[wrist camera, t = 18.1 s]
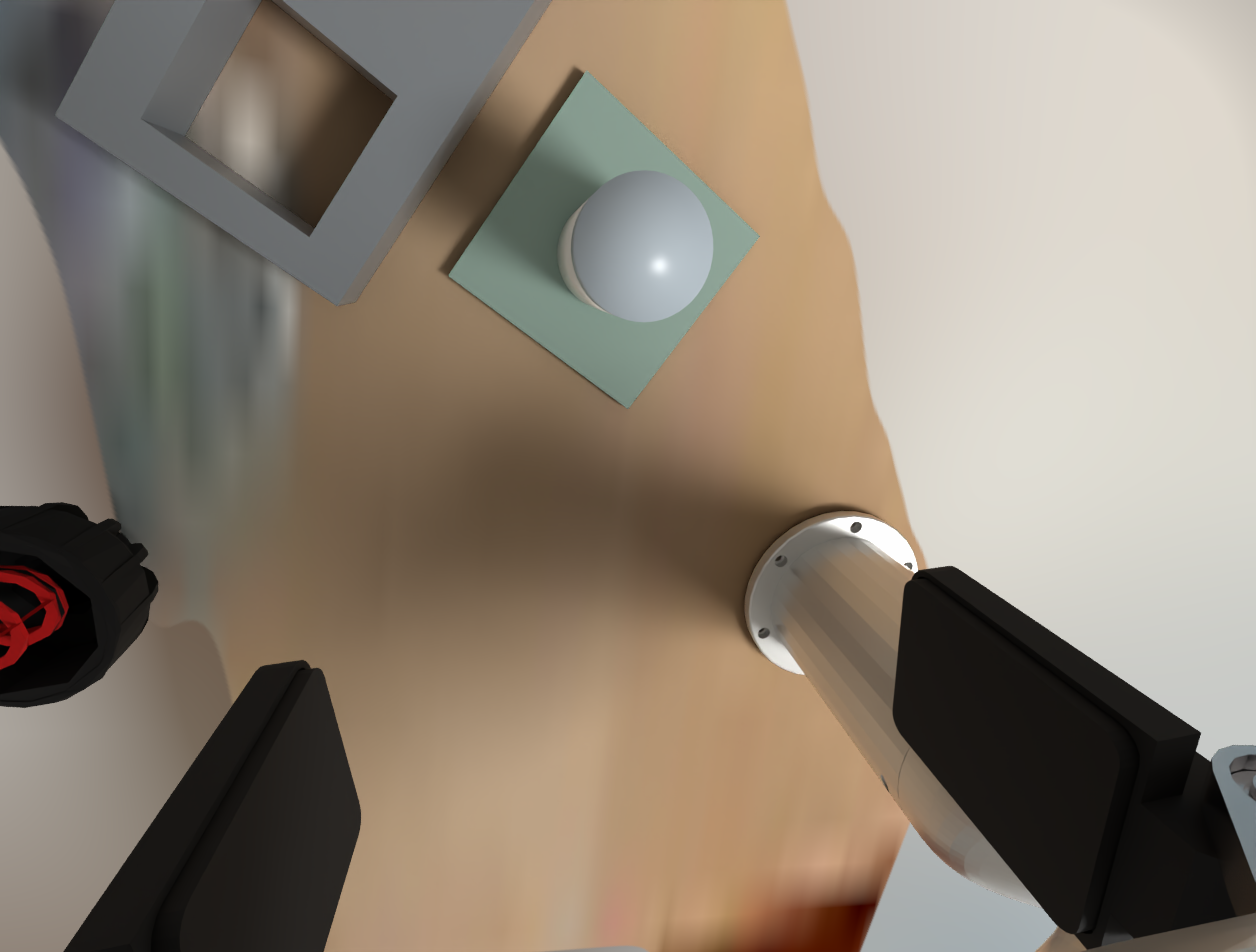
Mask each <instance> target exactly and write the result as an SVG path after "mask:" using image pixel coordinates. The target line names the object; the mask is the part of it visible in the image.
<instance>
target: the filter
mask: <svg viewBox="0 0 1256 952" xmlns="http://www.w3.org/2000/svg"><path fill="white" fill-rule="evenodd" d="M120 529H121V524H120V523H119V522H117V521H115V520H114V519H107V520H105V521H103V522H100V523H98V524H96V523H94V522H91V521H89V520H88V517H87V516H86V515H85V513H84V512H83V511H82V510H81V509H80V508H79V507H78V506H76V505H72V504H67V503H62V502H61V503H45V504H43V505H41V506H39V507H38V506H0V706H6V707H22V708H26V707H31V706H38V705H44V704H50V703H55V702H59V701H62V700H65V699H68V698H69V697H71V696H73V695H75V694H77V693H78V692H80V691H82V690H84V689H86V688H87V687H88V686H90V685H92V684H93V683H95V682H96V681H98V680H100V679H101V678H103V676H104V675H105V673H106V672H107V670H108V669H109V668H110V667H111V666H112V665H113V664H114V663H115V661H116V660H117V659H118V658H119V657H120V656H121V655H122V654H123V653H124V652H125V651H126V650H127V649H128V647H129V646H130V645H131V644H132V643H133V642H134V641H135V640H136V639H137V638H138V636H139V635H140V634H141V632H142V631H143V629H144V627H145V625H146V623H147V621H148V617H149V609H150V603H151V602H152V601H153V600H154V598H155V596H156V594H157V592H158V580H157V578H156V576H155V575H154V573H153V572H152V571H151V570H149V569H147V568H146V567H143V566H141V565H140V563H141V562H142V561H143V560H144V559H145V558H146V557H147V556H148V551H147V550H146V548H145V547H144V546H143V545H142V543H135V544H130V542H129V541H128V539H127V538H126V537H125V536H124V535H123V534H121V533H119V530H120Z"/></svg>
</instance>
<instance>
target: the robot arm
mask: <svg viewBox="0 0 1256 952" xmlns="http://www.w3.org/2000/svg"><path fill="white" fill-rule="evenodd" d="M745 618H746V623H747V628H748V630H749V632H750V634H751V636H752V639H753V640H754V642H755V643H756V645H757V646H758V648H759V649H760V651H761V652H762V653H763V654H764V655H765V656H766V657H767V658H768V659H769V660H770V661H771V662H772V663H773V664H775V665H777V666H778V667H780V668H782V669H784V670H786V671H789V672H792V673H795V674H800V675H805V676H806V677H807V678H808V680H809V681H810V682H811V684H812V685H813V687H814V688H815V689H816V691H817V692H818V694H819V695H820V696H821V698H822V699H823V701H824V702H825V703H826V705H827V706H828V708H829V709H830V710H831V712H832V713H833V715H834V716H835V717H836V719H837V720H838V722H839V723H840V724H841V726H842V727H843V729H844V730H845V731H846V733H847V734H848V736H849V737H850V738H851V740H852V741H853V743H854V744H855V745H856V747H857V748H858V750H859V751H860V752H861V754H862V755H863V757H864V758H865V759H866V761H867V762H868V764H869V765H870V766H871V768H872V769H873V771H874V772H875V773H876V775H877V776H878V778H879V779H880V780H881V782H882V783H883V785H884V786H885V787H886V789H887V790H888V792H889V793H890V794H891V796H892V797H893V799H894V800H895V801H896V803H897V804H898V806H899V807H900V808H901V810H902V811H903V813H904V814H905V815H906V817H907V818H908V820H909V821H910V822H911V824H912V825H913V827H914V828H915V829H916V831H917V832H918V833H919V835H920V836H921V838H922V839H923V840H924V841H925V842H926V844H927V845H928V846H929V847H930V848H931V850H932V851H933V852H934V853H935V854H936V855H937V856H938V857H939V858H940V859H941V860H942V861H943V862H945V863H946V864H947V865H948V866H949V867H951V868H952V869H953V870H955V871H956V872H957V873H959V874H960V875H962V876H963V877H965V878H966V879H968V880H970V881H972V882H974V883H976V884H978V885H980V886H982V887H984V888H986V889H987V890H990V891H992V892H995V893H998V894H1001V895H1003V896H1005V897H1008V898H1010V899H1014V900H1017V901H1020V902H1023V903H1026V904H1029V905H1032V906H1036V907H1039V908H1043V909H1044V911H1045V912H1046V913H1047V914H1048V915H1049V917H1050V918H1051V919H1052V920H1053V921H1054V922H1055V924H1056V925H1057V928H1056V930H1055V931H1054V933H1053V934H1052V935H1051V936H1050V937H1049V938H1048V939H1047V940H1046V941H1045V942H1044V943H1043V944H1042V945H1041V946H1040V947H1039V948H1038V949H1037V950H1036V951H1035V952H1256V746H1254V745H1232V746H1229V747H1226V748H1222V749H1219V750H1218V751H1217V752H1216V754H1215V755H1214V756H1213V757H1212V759H1211V762H1210V761H1209V760H1207V759H1206V758H1204V757H1203V756H1202V755H1200V754H1199V753H1197V752H1196V748H1197V745H1198V741H1199V738H1200V735H1201V733H1200V732H1199V731H1198V730H1196V729H1195V728H1193V727H1192V726H1190V725H1189V724H1187V723H1186V722H1184V721H1183V720H1181V719H1180V718H1178V717H1177V716H1175V715H1174V714H1172V713H1171V712H1170V711H1168V710H1167V709H1165V708H1164V707H1162V706H1160V705H1159V704H1158V703H1156V702H1155V701H1153V700H1152V699H1150V698H1149V697H1147V696H1146V695H1144V694H1143V693H1141V692H1140V691H1138V690H1137V689H1135V688H1134V687H1132V686H1131V685H1130V684H1128V683H1127V682H1125V681H1124V680H1122V679H1120V678H1119V677H1118V676H1116V675H1115V674H1113V673H1112V672H1110V671H1108V670H1107V669H1106V668H1104V667H1103V666H1101V665H1100V664H1098V663H1097V662H1095V661H1094V660H1092V659H1091V658H1090V657H1088V656H1086V655H1085V654H1084V653H1082V652H1081V651H1079V650H1078V649H1076V648H1074V647H1073V646H1072V645H1070V644H1069V643H1067V642H1066V641H1064V640H1063V639H1061V638H1060V637H1058V636H1057V635H1055V634H1054V633H1052V632H1051V631H1049V630H1048V629H1047V628H1045V627H1044V626H1042V625H1041V624H1039V623H1038V622H1036V621H1035V620H1033V619H1032V618H1030V617H1029V616H1027V615H1026V614H1024V613H1023V612H1021V611H1020V610H1018V609H1017V608H1015V607H1014V606H1012V605H1011V604H1009V603H1008V602H1006V601H1005V600H1004V599H1002V598H1000V597H999V596H998V595H996V594H995V593H993V592H992V591H990V590H989V589H987V588H986V587H984V586H983V585H981V584H980V583H978V582H977V581H975V580H974V579H972V578H971V577H969V576H968V575H966V574H965V573H964V572H962V571H961V570H959V569H957V568H955V567H953V566H945V567H938V568H931V569H925V570H918V566H917V562H916V559H915V556H914V552H913V550H912V549H911V547H910V545H909V544H908V542H907V540H906V539H905V538H904V537H903V536H902V535H901V534H900V533H899V532H898V531H897V530H896V529H895V528H893V527H892V526H890V525H889V524H888V523H886V522H885V521H883V520H881V519H879V518H877V517H875V516H872V515H870V514H865V513H861V512H857V511H837V512H831V513H825V514H821V515H818V516H816V517H813V518H810V519H807V520H805V521H803V522H802V523H800V524H798V525H796V526H794V527H793V528H791V529H789V530H788V531H787V532H786V533H784V534H783V535H782V536H781V537H779V538H778V539H777V540H776V541H775V542H774V543H773V544H772V545H771V546H770V547H769V548H768V550H767V551H766V552H765V553H764V554H763V556H762V557H761V559H760V560H759V562H758V564H757V565H756V567H755V569H754V571H753V573H752V576H751V578H750V580H749V583H748V587H747V591H746V596H745ZM360 824H361V809H360V804H359V800H358V796H357V793H356V789H355V785H354V782H353V778H352V775H351V771H350V767H349V764H348V760H347V757H346V753H345V749H344V746H343V742H342V738H341V735H340V731H339V728H338V724H337V720H336V717H335V713H334V709H333V706H332V702H331V699H330V695H329V691H328V688H327V684H326V680H325V677H324V674H323V672H322V670H321V669H319V668H313V669H311V668H310V666H309V664H308V663H307V662H306V661H304V660H299V661H292V662H286V663H279V664H272V665H265V666H262V667H260V668H259V669H258V670H257V671H256V672H255V673H254V675H253V676H252V678H251V679H250V681H249V682H248V684H247V685H246V686H245V688H244V689H243V691H242V692H241V694H240V695H239V697H238V698H237V700H236V701H235V702H234V704H233V705H232V707H231V708H230V710H229V711H228V713H227V714H226V716H225V717H224V718H223V720H222V721H221V723H220V724H219V726H218V727H217V729H216V730H215V732H214V733H213V735H212V736H211V737H210V739H209V740H208V742H207V743H206V745H205V746H204V748H203V749H202V751H201V752H200V754H199V755H198V756H197V758H196V760H195V761H194V762H193V764H192V765H191V767H190V768H189V770H188V771H187V772H186V774H185V775H184V777H183V778H182V780H181V781H180V783H179V784H178V786H177V787H176V788H175V790H174V791H173V793H172V794H171V796H170V797H169V799H168V800H167V802H166V803H165V804H164V806H163V808H162V809H161V810H160V812H159V813H158V815H157V816H156V818H155V819H154V821H153V822H152V823H151V825H150V826H149V828H148V829H147V831H146V832H145V834H144V835H143V837H142V838H141V840H140V841H139V842H138V844H137V845H136V847H135V848H134V850H133V851H132V853H131V854H130V855H129V857H128V858H127V860H126V861H125V863H124V864H123V866H122V867H121V869H120V870H119V872H118V873H117V875H116V876H115V877H114V879H113V880H112V882H111V883H110V885H109V886H108V888H107V889H106V891H105V892H104V894H103V895H102V896H101V898H100V899H99V901H98V902H97V904H96V905H95V906H94V908H93V909H92V911H91V912H90V914H89V915H88V917H87V918H86V920H85V921H84V923H83V924H82V925H81V927H80V928H79V930H78V932H77V933H76V934H75V936H74V937H73V939H72V940H71V942H70V943H69V944H68V946H67V947H66V949H65V950H64V952H324V948H325V945H326V942H327V938H328V935H329V932H330V928H331V925H332V922H333V918H334V915H335V912H336V908H337V905H338V902H339V898H340V895H341V892H342V888H343V885H344V882H345V878H346V875H347V872H348V868H349V865H350V862H351V858H352V855H353V852H354V848H355V845H356V842H357V838H358V835H359V831H360Z"/></svg>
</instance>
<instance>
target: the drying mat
mask: <svg viewBox="0 0 1256 952" xmlns="http://www.w3.org/2000/svg"><path fill="white" fill-rule="evenodd" d="M641 170H648V171H656V172H660V173H664V174H667V175H669V176H671V177H674V178H675V179H677V180H679V181H680V182H682V183H683V184H684V185H686V186H687V187H688V188H689V189H690V190H691V191H692V192H693V193H694V194H695V195H696V197H697V198H698V199H699V201H700V202H701V204H702V206H703V207H704V209H705V211H706V213H707V216H708V218H709V221H710V225H711V229H712V235H713V258H712V263H711V268H710V271H709V274H708V277H707V279H706V281H705V283H704V285H703V287H702V289H701V290H700V292H699V293H698V295H697V296H696V297H695V298H694V299H693V300H692V302H690V303H689V304H688V305H687V306H686V307H685V308H684V309H682V310H681V311H679V312H678V313H676V314H674V315H672V316H670V317H668V318H665V319H662V320H658V321H654V322H634V321H629V320H625V319H622V318H620V317H617V316H614V315H612V314H609V313H606V312H604V311H601V310H599V309H596V308H593V307H591V306H589V305H587V304H585V303H583V302H582V301H580V300H579V299H578V298H577V297H576V296H574V295H573V293H572V292H571V291H570V290H569V289H568V287H567V286H566V284H565V282H564V280H563V278H562V276H561V273H560V270H559V266H558V259H557V248H558V241H559V237H560V234H561V232H562V229H563V227H564V225H565V224H566V222H567V220H568V219H569V218H570V217H571V215H572V214H573V213H574V212H575V211H576V210H577V209H578V208H579V207H580V206H581V205H583V204H584V203H585V202H586V201H587V200H588V199H589V198H590V197H591V196H592V195H593V194H594V193H595V192H596V191H597V190H598V189H599V188H600V187H601V186H602V185H604V184H605V183H606V182H608V181H609V180H611V179H613V178H615V177H617V176H619V175H621V174H624V173H627V172H632V171H641ZM759 237H760V236H759V235H758V234H757V233H756V232H755V231H754V230H753V229H752V228H751V227H750V226H749V225H748V224H747V223H746V222H744V221H743V220H742V219H741V218H740V217H739V216H738V215H737V214H736V213H735V212H734V211H733V210H732V209H731V208H730V207H729V206H728V205H727V204H726V203H725V202H724V201H723V200H722V199H720V198H719V197H718V196H717V195H716V194H715V193H714V192H713V191H712V190H711V189H710V188H709V187H708V186H707V185H706V184H705V183H704V182H703V181H702V180H701V179H700V178H699V177H698V176H696V175H695V174H694V173H693V172H692V171H691V170H690V169H689V168H688V167H687V166H686V165H685V164H684V163H683V162H682V161H681V160H680V159H679V158H678V157H677V156H676V155H675V154H674V153H672V152H671V151H670V150H669V149H668V148H667V147H666V146H665V145H664V144H663V143H662V142H661V141H660V140H659V139H658V138H657V137H656V136H655V135H654V134H653V133H652V132H651V131H649V130H648V129H647V128H646V127H645V126H644V125H643V124H642V123H641V122H640V121H639V120H638V119H637V118H636V117H635V116H634V115H633V114H632V113H631V112H630V111H629V110H628V109H627V108H625V107H624V106H623V105H622V104H621V103H620V102H619V101H618V100H617V99H616V98H615V97H614V96H613V95H612V94H611V93H610V92H609V91H608V90H607V89H606V88H605V87H604V86H603V85H601V84H600V83H599V82H598V81H597V80H596V79H595V78H594V77H593V76H592V75H591V74H590V73H589V72H588V71H586V72H585V74H584V75H583V77H582V78H581V79H580V81H579V82H578V84H577V85H576V87H575V88H574V90H573V91H572V93H571V94H570V96H569V97H568V99H567V100H566V102H565V103H564V105H563V106H562V108H561V109H560V111H559V112H558V114H557V115H556V117H555V118H554V120H553V121H552V122H551V124H550V125H549V127H548V128H547V130H546V131H545V133H544V134H543V136H542V137H541V139H540V140H539V142H538V143H537V145H536V146H535V148H534V149H533V151H532V152H531V154H530V155H529V157H528V158H527V160H526V161H525V162H524V164H523V165H522V167H521V168H520V170H519V171H518V173H517V174H516V176H515V177H514V179H513V180H512V182H511V183H510V185H509V186H508V188H507V189H506V191H505V192H504V194H503V195H502V197H501V198H500V200H499V201H498V203H497V204H496V205H495V207H494V208H493V210H492V211H491V213H490V214H489V216H488V217H487V219H486V220H485V222H484V223H483V225H482V226H481V228H480V229H479V231H478V232H477V234H476V235H475V237H474V238H473V240H472V241H471V243H470V244H469V246H468V247H467V248H466V250H465V251H464V253H463V254H462V256H461V257H460V259H459V260H458V262H457V263H456V265H455V266H454V268H453V269H452V271H451V272H450V274H449V275H448V276H449V277H450V278H452V279H453V280H454V281H456V282H457V283H458V284H460V285H461V286H463V287H464V288H465V289H467V290H468V291H469V292H471V293H472V294H473V295H475V296H476V297H477V298H479V299H480V300H481V301H483V302H484V303H485V304H487V305H488V306H489V307H491V308H492V309H494V310H495V311H496V312H498V313H499V314H500V315H502V316H503V317H504V318H506V319H507V320H508V321H510V322H511V323H512V324H514V325H515V326H516V327H518V328H519V329H520V330H522V331H523V332H525V333H526V334H527V335H529V336H530V337H531V338H533V339H534V340H535V341H537V342H538V343H539V344H541V345H542V346H543V347H545V348H546V349H547V350H549V351H550V352H552V353H553V354H554V355H556V356H557V357H558V358H560V359H561V360H562V361H564V362H565V363H566V364H568V365H569V366H570V367H572V368H573V369H574V370H576V371H577V372H578V373H580V374H581V375H583V376H584V377H585V378H587V379H588V380H589V381H591V382H592V383H593V384H595V385H596V386H597V387H599V388H600V389H601V390H603V391H604V392H605V393H607V394H608V395H610V396H611V397H612V398H614V399H615V400H616V401H618V402H619V403H620V404H622V405H623V406H624V407H626V408H627V409H628V408H629V407H630V406H631V405H632V403H633V402H634V401H635V399H636V398H637V397H638V395H639V394H640V393H641V391H642V390H643V389H644V388H645V386H646V385H647V384H648V382H649V381H650V380H651V378H652V377H653V376H654V374H655V373H656V372H657V370H658V369H659V368H660V367H661V365H662V364H663V363H664V361H665V360H666V359H667V357H668V356H669V355H670V353H671V352H672V351H673V349H674V348H675V347H676V346H677V344H678V343H679V342H680V340H681V339H682V338H683V336H684V335H685V334H686V332H687V331H688V330H689V328H690V327H691V326H692V325H693V323H694V322H695V321H696V319H697V318H698V317H699V315H700V314H701V313H702V311H703V310H704V309H705V308H706V306H707V305H708V304H709V302H710V301H711V300H712V298H713V297H714V296H715V294H716V293H717V292H718V290H719V289H720V288H721V287H722V285H723V284H724V283H725V281H726V280H727V279H728V277H729V276H730V275H731V273H732V272H733V271H734V269H735V268H736V267H737V266H738V264H739V263H740V262H741V260H742V259H743V258H744V256H745V255H746V254H747V252H748V251H749V250H750V249H751V247H752V246H753V245H754V243H755V242H756V241H757V239H758V238H759Z"/></svg>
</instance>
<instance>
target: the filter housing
mask: <svg viewBox="0 0 1256 952" xmlns="http://www.w3.org/2000/svg"><path fill="white" fill-rule="evenodd" d="M272 1H273V2H274V3H275V4H276V5H278V6H279V7H280V8H281V9H283V10H284V11H285V12H286V13H287V14H289V15H290V16H291V17H292V18H293V19H295V20H296V21H297V22H298V23H300V24H301V25H302V26H303V27H304V28H306V29H307V30H308V31H309V32H310V33H312V34H313V35H314V36H315V37H317V38H318V39H319V40H320V41H321V42H323V43H324V44H325V45H326V46H327V47H329V48H330V49H331V50H332V51H333V52H335V53H336V54H337V55H338V56H340V57H341V58H342V59H343V60H344V61H346V62H347V63H348V64H349V65H350V66H352V67H353V68H354V69H355V70H357V71H358V72H359V73H360V74H361V75H363V76H364V77H365V78H366V79H367V80H369V81H370V82H371V83H372V84H374V85H375V86H376V87H377V88H378V89H380V90H381V91H382V92H383V93H384V94H386V95H387V96H388V97H389V98H390V99H392V100H393V101H394V102H393V104H392V106H391V107H390V109H389V110H388V112H387V114H386V115H385V117H384V118H383V120H382V122H381V123H380V125H379V126H378V128H377V130H376V131H375V133H374V134H373V136H372V138H371V139H370V141H369V142H368V144H367V146H366V147H365V149H364V150H363V152H362V154H361V155H360V157H359V158H358V160H357V162H356V163H355V165H354V166H353V168H352V170H351V171H350V173H349V174H348V176H347V178H346V179H345V181H344V183H343V184H342V186H341V187H340V189H339V191H338V192H337V194H336V195H335V197H334V199H333V200H332V202H331V203H330V205H329V207H328V208H327V210H326V211H325V213H324V215H323V216H322V218H321V219H320V221H319V223H318V224H317V226H316V227H315V228H313V227H312V226H310V225H309V224H308V223H306V222H305V221H303V220H302V219H300V218H299V217H298V216H296V215H295V214H293V213H292V212H291V211H289V210H288V209H286V208H285V207H284V206H282V205H281V204H279V203H278V202H277V201H275V200H274V199H272V198H271V197H270V196H268V195H267V194H265V193H264V192H263V191H261V190H260V189H258V188H257V187H255V186H254V185H253V184H251V183H250V182H248V181H247V180H246V179H244V178H243V177H241V176H240V175H239V174H237V173H236V172H234V171H233V170H232V169H230V168H229V167H227V166H226V165H225V164H223V163H222V162H220V161H219V160H218V159H216V158H215V157H213V156H212V155H210V154H209V153H208V152H206V151H205V150H203V149H202V148H201V147H199V146H198V145H196V144H195V143H194V142H192V141H191V140H189V139H188V138H187V137H185V134H186V133H187V131H188V129H189V127H190V126H191V124H192V122H193V120H194V119H195V117H196V115H197V113H198V111H199V110H200V108H201V106H202V104H203V103H204V101H205V99H206V97H207V96H208V94H209V92H210V90H211V89H212V87H213V85H214V83H215V82H216V80H217V78H218V76H219V74H220V73H221V71H222V69H223V67H224V66H225V64H226V62H227V60H228V59H229V57H230V55H231V53H232V52H233V50H234V48H235V46H236V45H237V43H238V41H239V39H240V37H241V36H242V34H243V32H244V30H245V29H246V27H247V25H248V23H249V22H250V20H251V18H252V16H253V15H254V13H255V11H256V9H257V8H258V6H259V4H260V2H261V0H115V1H114V3H113V5H112V7H111V9H110V11H109V13H108V15H107V17H106V19H105V20H104V22H103V24H102V26H101V28H100V30H99V32H98V34H97V36H96V38H95V39H94V41H93V43H92V45H91V47H90V49H89V51H88V53H87V55H86V57H85V59H84V60H83V62H82V64H81V66H80V68H79V70H78V72H77V74H76V76H75V78H74V79H73V81H72V83H71V85H70V87H69V89H68V91H67V93H66V95H65V97H64V98H63V100H62V102H61V104H60V106H59V108H58V110H57V112H56V114H55V116H56V117H57V118H59V119H60V120H62V121H63V122H65V123H66V124H68V125H69V126H70V127H72V128H73V129H75V130H76V131H78V132H79V133H81V134H82V135H84V136H85V137H87V138H88V139H90V140H91V141H93V142H94V143H96V144H97V145H99V146H100V147H102V148H103V149H105V150H106V151H108V152H109V153H111V154H112V155H114V156H115V157H116V158H118V159H119V160H121V161H122V162H124V163H125V164H127V165H128V166H130V167H131V168H133V169H134V170H136V171H137V172H139V173H140V174H142V175H143V176H145V177H146V178H148V179H149V180H151V181H152V182H154V183H155V184H157V185H158V186H159V187H161V188H162V189H164V190H165V191H167V192H168V193H170V194H171V195H173V196H174V197H176V198H177V199H179V200H180V201H182V202H183V203H185V204H186V205H188V206H189V207H191V208H192V209H194V210H195V211H197V212H198V213H200V214H201V215H202V216H204V217H205V218H207V219H208V220H210V221H211V222H213V223H214V224H216V225H217V226H219V227H220V228H222V229H223V230H225V231H226V232H228V233H229V234H231V235H232V236H234V237H235V238H237V239H238V240H240V241H241V242H243V243H244V244H246V245H247V246H248V247H250V248H251V249H253V250H254V251H256V252H257V253H259V254H260V255H262V256H263V257H265V258H266V259H268V260H269V261H271V262H272V263H274V264H275V265H277V266H278V267H280V268H281V269H283V270H284V271H286V272H287V273H289V274H290V275H291V276H293V277H294V278H296V279H297V280H299V281H300V282H302V283H303V284H305V285H306V286H308V287H309V288H311V289H312V290H314V291H315V292H317V293H318V294H320V295H321V296H323V297H324V298H326V299H327V300H329V301H330V302H332V303H333V304H335V305H336V306H340V305H345V304H349V303H354V302H356V301H357V299H358V298H359V296H360V295H361V293H362V291H363V290H364V288H365V287H366V285H367V284H368V282H369V281H370V279H371V278H372V276H373V275H374V273H375V271H376V270H377V268H378V267H379V265H380V264H381V262H382V261H383V259H384V258H385V256H386V255H387V253H388V252H389V250H390V248H391V247H392V245H393V244H394V242H395V241H396V239H397V238H398V236H399V235H400V233H401V232H402V230H403V228H404V227H405V225H406V224H407V222H408V221H409V219H410V218H411V216H412V215H413V213H414V212H415V210H416V209H417V207H418V205H419V204H420V202H421V201H422V199H423V198H424V196H425V195H426V193H427V192H428V190H429V189H430V187H431V185H432V184H433V182H434V181H435V179H436V178H437V176H438V175H439V173H440V172H441V170H442V169H443V167H444V166H445V164H446V162H447V161H448V159H449V158H450V156H451V155H452V153H453V152H454V150H455V149H456V147H457V146H458V144H459V142H460V141H461V139H462V138H463V136H464V135H465V133H466V132H467V130H468V129H469V127H470V126H471V124H472V123H473V121H474V119H475V118H476V116H477V115H478V113H479V112H480V110H481V109H482V107H483V106H484V104H485V103H486V101H487V99H488V98H489V96H490V95H491V93H492V92H493V90H494V89H495V87H496V86H497V84H498V83H499V81H500V79H501V78H502V76H503V75H504V73H505V72H506V70H507V69H508V67H509V66H510V64H511V63H512V61H513V60H514V58H515V56H516V55H517V53H518V52H519V50H520V49H521V47H522V46H523V44H524V43H525V41H526V40H527V38H528V36H529V35H530V33H531V32H532V30H533V29H534V27H535V26H536V24H537V23H538V21H539V20H540V18H541V17H542V15H543V13H544V12H545V10H546V9H547V7H548V6H549V4H550V3H551V1H552V0H272Z"/></svg>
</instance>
